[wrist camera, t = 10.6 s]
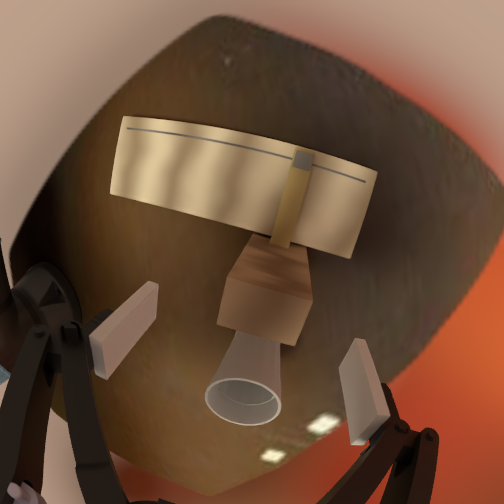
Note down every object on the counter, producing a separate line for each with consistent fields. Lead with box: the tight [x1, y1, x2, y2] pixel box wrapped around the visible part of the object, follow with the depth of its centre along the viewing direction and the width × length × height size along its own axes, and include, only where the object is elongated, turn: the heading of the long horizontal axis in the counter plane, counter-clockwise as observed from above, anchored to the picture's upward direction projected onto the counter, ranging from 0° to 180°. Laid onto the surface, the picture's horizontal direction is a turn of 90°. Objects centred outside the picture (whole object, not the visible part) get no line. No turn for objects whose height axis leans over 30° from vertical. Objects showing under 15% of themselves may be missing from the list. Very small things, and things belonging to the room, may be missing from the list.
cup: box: [205, 331, 281, 425], centre depth 30 cm, size 8×8×12 cm
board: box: [110, 116, 378, 259], centre depth 29 cm, size 30×10×2 cm, turn 76°
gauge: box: [216, 147, 316, 346], centre depth 24 cm, size 6×14×14 cm, turn 166°
